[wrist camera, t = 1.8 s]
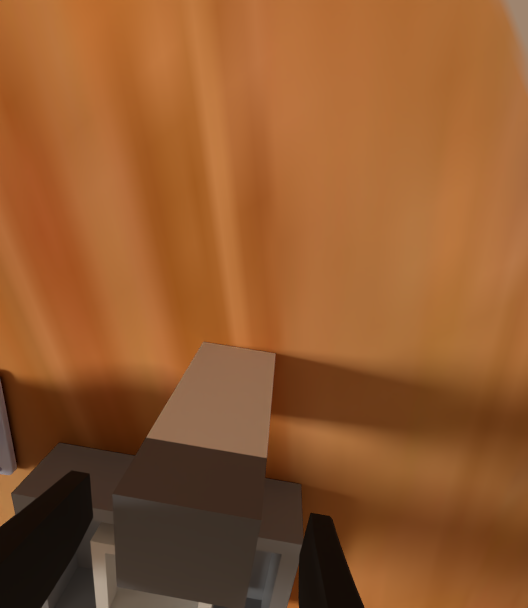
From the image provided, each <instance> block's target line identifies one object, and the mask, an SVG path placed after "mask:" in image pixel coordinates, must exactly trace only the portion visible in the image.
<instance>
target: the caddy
mask: <svg viewBox="0 0 528 608" xmlns="http://www.w3.org/2000/svg"><path fill="white" fill-rule="evenodd" d="M134 457H135V456H134V455H128V454H122V453H116V452H110V451H104V450H99V449H93V448H87V447H81V446H75V445H70V444H64V443H58V444H57V445H56V446H55V447H54V448H53V450H52V451H51V452H50V453H49V454H48V455H47V456H46V457H45V458H44V459H43V460H42V461H41V462H40V463H39V464H38V465H37V467H36V468H35V469H34V470H33V471H32V472H31V473H30V474H29V475H28V476H27V477H26V478H25V479H24V480H23V481H22V482H21V483H20V485H19V486H18V487H17V488H16V489H15V490H14V491H13V492H12V493H11V495H12V500H13V505H14V510H15V515H16V514H17V513H19V512H20V511H21V510H22V509H24V508H25V507H26V506H27V505H29V504H30V503H31V502H32V501H34V500H35V499H36V498H37V497H38V496H40V495H41V494H42V493H43V492H45V491H46V490H47V489H48V488H50V487H51V486H52V485H53V484H55V483H56V482H57V481H58V480H59V479H61V478H62V477H63V476H64V475H66V474H67V473H68V472H70V471H71V470H73V471H79V472H84V473H90V483H91V495H92V508H93V519H92V521H91V523H90V525H89V527H88V529H87V531H86V533H85V535H84V537H83V539H82V541H81V543H80V545H79V547H78V549H77V551H76V553H75V555H74V556H73V558H72V560H71V561H70V563H69V565H68V566H67V568H66V569H65V571H64V573H63V574H62V576H61V577H60V579H59V581H58V582H57V584H56V586H55V587H54V589H53V590H52V592H51V594H50V595H49V597H48V598H47V600H46V601H45V603H44V605H43V606H42V608H228V607H223V606H217V605H212V604H206V603H201V602H196V601H190V600H185V599H179V598H174V597H169V596H163V595H158V594H152V593H147V592H141V591H136V590H131V589H125V588H120V587H117V583H116V562H115V541H114V521H113V500H112V494H113V492H114V490H115V489H116V487H117V485H118V484H119V482H120V480H121V479H122V477H123V475H124V474H125V472H126V470H127V469H128V467H129V465H130V464H131V462H132V460H133V459H134ZM302 543H303V517H302V494H301V484H296V483H291V482H285V481H279V480H273V479H267V478H265V485H264V497H263V509H262V520H261V526H260V531H259V536H258V541H257V546H256V552H255V557H254V562H253V567H252V572H251V577H250V583H249V588H248V593H247V598H246V603H245V608H287V605H288V601H289V598H290V594H291V590H292V587H293V583H294V579H295V576H296V572H297V568H298V565H299V554H300V551H301V547H302Z"/></svg>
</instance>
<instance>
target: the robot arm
mask: <svg viewBox="0 0 528 608" xmlns="http://www.w3.org/2000/svg"><path fill="white" fill-rule="evenodd" d="M16 469H17V464H16V459H15V453H14V448H13V443H12V438H11V432H10V427H9V422H8V416H7V411H6V406H5V401H4V395H3V390H2V385H1V379H0V474H4V475H11V474H12V473H13V472H14V471H15V470H16ZM92 519H93V508H92V495H91V483H90V473H84V472H79V471H73V470H71V471H70V472H68V473H67V474H66V475H64V476H63V477H62V478H61V479H59V480H58V481H57V482H56V483H55V484H53V485H52V486H51V487H50V488H48V489H47V490H46V491H45V492H43V493H42V494H41V495H40V496H38V497H37V498H36V499H35V500H34V501H32V502H31V503H30V504H29V505H27V506H26V507H25V508H24V509H22V510H21V511H20V512H19V513H17V514H16V515H15V516H13V517H12V518H11V519H10V520H8V521H7V522H6V523H4V524H3V525H2V526H1V527H0V608H42V606H43V605H44V603H45V601H46V600H47V598H48V597H49V595H50V594H51V592H52V590H53V589H54V587H55V586H56V584H57V582H58V581H59V579H60V577H61V576H62V574H63V573H64V571H65V569H66V568H67V566H68V565H69V563H70V561H71V560H72V558H73V556H74V555H75V553H76V551H77V549H78V547H79V545H80V543H81V541H82V539H83V537H84V535H85V533H86V531H87V529H88V527H89V525H90V523H91V521H92ZM299 608H364V605H363V603H362V600H361V598H360V596H359V593H358V591H357V588H356V586H355V583H354V580H353V578H352V575H351V573H350V570H349V567H348V564H347V562H346V559H345V556H344V553H343V551H342V548H341V545H340V542H339V539H338V536H337V533H336V529H335V526H334V523H333V520H332V518H331V517H330V516H325V515H320V514H314V513H311V514H310V517H309V521H308V525H307V528H306V532H305V536H304V539H303V543H302V547H301V551H300V554H299Z"/></svg>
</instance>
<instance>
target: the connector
mask: <svg viewBox="0 0 528 608" xmlns="http://www.w3.org/2000/svg"><path fill="white" fill-rule="evenodd" d="M275 356H276V353H270V352H264V351H257V350H251V349H245V348H239V347H233V346H226V345H220V344H214V343H208V342H203V343H202V345H201V347H200V348H199V350H198V352H197V353H196V355H195V357H194V358H193V360H192V362H191V363H190V365H189V367H188V368H187V370H186V372H185V373H184V375H183V377H182V378H181V380H180V382H179V383H178V385H177V387H176V388H175V390H174V392H173V393H172V395H171V397H170V398H169V400H168V402H167V403H166V405H165V407H164V408H163V410H162V412H161V413H160V415H159V417H158V418H157V420H156V422H155V423H154V425H153V427H152V428H151V430H150V432H149V433H148V435H147V437H146V438H145V440H144V442H143V443H142V445H141V447H140V449H139V450H138V452H137V454H136V455H135V457H134V459H133V460H132V462H131V464H130V465H129V467H128V469H127V470H126V472H125V474H124V475H123V477H122V479H121V480H120V482H119V484H118V485H117V487H116V489H115V490H114V492H113V494H112V500H113V521H114V541H115V562H116V583H117V587H120V588H125V589H131V590H136V591H141V592H147V593H152V594H158V595H163V596H169V597H174V598H179V599H185V600H190V601H196V602H201V603H206V604H212V605H217V606H223V607H228V608H245V603H246V598H247V593H248V588H249V583H250V577H251V572H252V567H253V562H254V557H255V552H256V546H257V541H258V536H259V531H260V526H261V520H262V509H263V497H264V485H265V473H266V462H267V450H268V438H269V426H270V415H271V403H272V391H273V379H274V368H275Z"/></svg>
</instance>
